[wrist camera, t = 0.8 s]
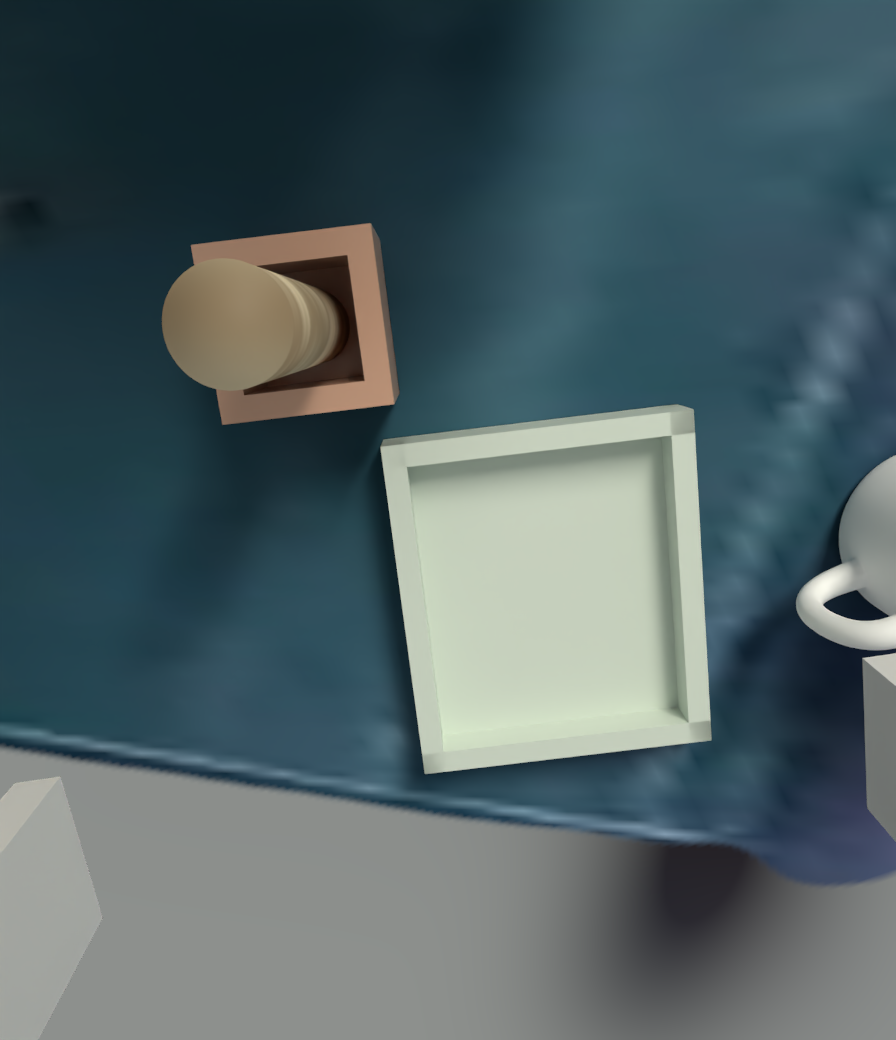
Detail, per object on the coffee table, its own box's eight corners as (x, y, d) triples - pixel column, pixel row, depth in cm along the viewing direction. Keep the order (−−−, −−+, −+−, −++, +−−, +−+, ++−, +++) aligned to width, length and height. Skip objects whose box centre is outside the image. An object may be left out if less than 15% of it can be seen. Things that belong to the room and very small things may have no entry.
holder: (228, 258, 37) (190, 244, 31) (379, 239, 37) (370, 223, 31) (253, 410, 39) (222, 424, 33) (399, 392, 39) (394, 404, 33)
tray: (383, 439, 39) (380, 446, 37) (677, 404, 39) (693, 409, 37) (425, 748, 42) (424, 774, 40) (695, 716, 42) (711, 740, 40)
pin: (269, 292, 37) (150, 266, 21) (343, 283, 37) (280, 250, 21) (281, 368, 37) (174, 397, 22) (354, 359, 37) (301, 382, 22)
